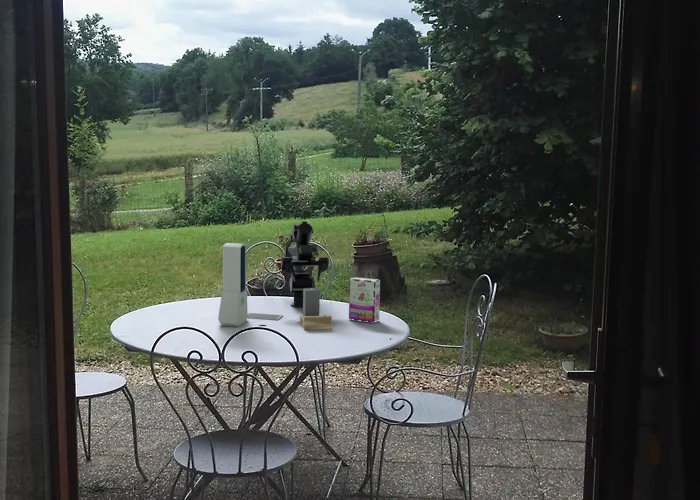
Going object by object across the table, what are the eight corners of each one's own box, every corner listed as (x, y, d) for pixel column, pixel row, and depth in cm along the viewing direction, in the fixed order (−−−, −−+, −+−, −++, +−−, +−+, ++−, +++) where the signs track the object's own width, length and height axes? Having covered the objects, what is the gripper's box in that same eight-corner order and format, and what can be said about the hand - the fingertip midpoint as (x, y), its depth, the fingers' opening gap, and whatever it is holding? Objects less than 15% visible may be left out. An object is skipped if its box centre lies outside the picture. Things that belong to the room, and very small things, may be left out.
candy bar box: (379, 321, 289) (381, 279, 286) (374, 323, 284) (375, 281, 282) (354, 317, 294) (355, 276, 292) (348, 320, 289) (349, 278, 287)
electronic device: (236, 327, 273) (237, 246, 269) (217, 326, 274) (217, 245, 270) (248, 320, 285) (248, 242, 281) (229, 318, 287) (229, 241, 282)
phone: (248, 315, 296) (248, 312, 295) (283, 317, 293) (283, 314, 293) (242, 319, 289) (242, 316, 289) (277, 321, 286) (277, 318, 286)
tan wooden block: (300, 323, 282) (300, 311, 282) (326, 322, 284) (326, 310, 284) (304, 329, 273) (304, 317, 272) (331, 328, 275) (331, 316, 274)
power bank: (302, 318, 289) (303, 287, 288) (316, 318, 291) (317, 287, 289) (305, 321, 285) (305, 290, 283) (319, 321, 286) (319, 290, 284)
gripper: (282, 237, 295) (284, 268, 286) (328, 237, 299) (333, 268, 289) (279, 254, 304) (282, 285, 294) (325, 254, 307) (329, 285, 298)
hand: (306, 280), depth 294 cm, fingers open, 9 cm apart
